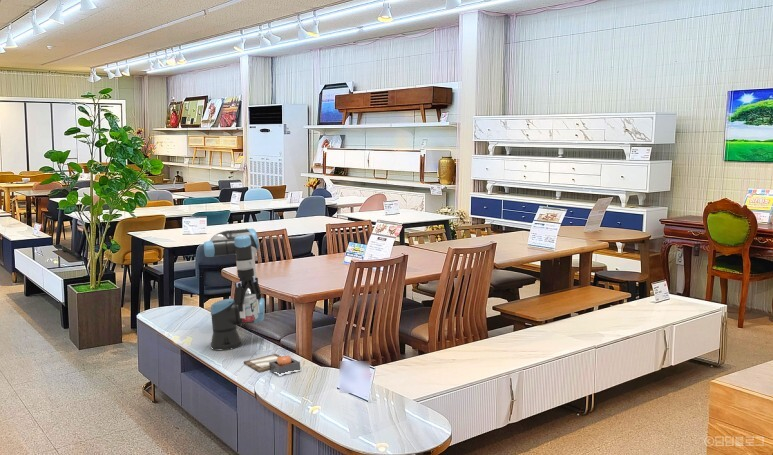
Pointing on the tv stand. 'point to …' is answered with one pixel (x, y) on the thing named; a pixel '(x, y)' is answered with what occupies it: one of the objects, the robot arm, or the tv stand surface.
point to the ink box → (250, 308)
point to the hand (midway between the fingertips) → (249, 315)
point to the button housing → (284, 366)
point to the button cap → (283, 360)
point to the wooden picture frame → (261, 362)
